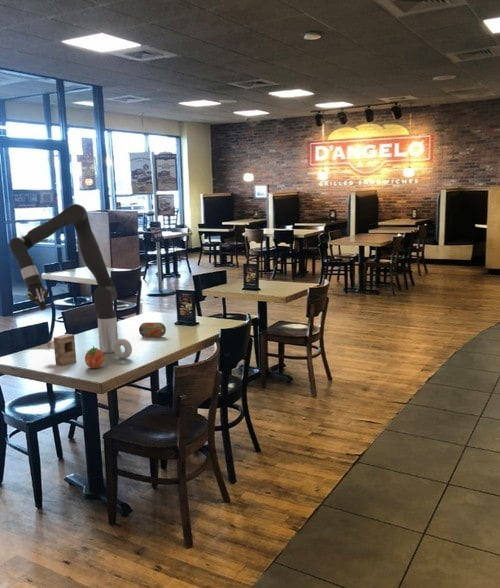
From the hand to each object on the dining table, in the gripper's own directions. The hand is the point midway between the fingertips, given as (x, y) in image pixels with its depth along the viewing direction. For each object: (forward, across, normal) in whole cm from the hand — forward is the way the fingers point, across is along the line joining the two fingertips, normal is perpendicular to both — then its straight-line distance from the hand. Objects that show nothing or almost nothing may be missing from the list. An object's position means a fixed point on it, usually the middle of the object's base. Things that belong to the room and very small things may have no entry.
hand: (43, 309), depth 283 cm
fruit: (+35, -5, -25) cm, 44 cm away
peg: (+21, -5, -6) cm, 22 cm away
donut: (+36, +12, -26) cm, 46 cm away
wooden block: (+28, -5, -8) cm, 30 cm away
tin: (+32, +53, -11) cm, 62 cm away
